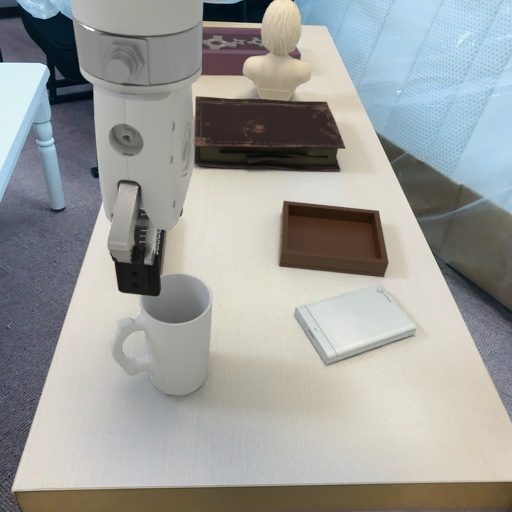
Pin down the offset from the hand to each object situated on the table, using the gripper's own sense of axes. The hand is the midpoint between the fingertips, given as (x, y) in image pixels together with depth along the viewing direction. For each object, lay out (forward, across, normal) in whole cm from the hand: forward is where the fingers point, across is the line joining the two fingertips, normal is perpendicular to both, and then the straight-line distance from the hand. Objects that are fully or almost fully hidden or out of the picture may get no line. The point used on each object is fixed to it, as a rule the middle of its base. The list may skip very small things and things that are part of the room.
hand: (153, 249), depth 43 cm
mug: (+18, 0, 0) cm, 19 cm away
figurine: (+19, +69, -10) cm, 72 cm away
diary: (+19, +51, -8) cm, 55 cm away
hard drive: (+18, +10, -22) cm, 30 cm away
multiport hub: (+19, +20, +6) cm, 28 cm away
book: (+19, +88, 0) cm, 90 cm away
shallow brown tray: (+18, +25, -20) cm, 36 cm away
